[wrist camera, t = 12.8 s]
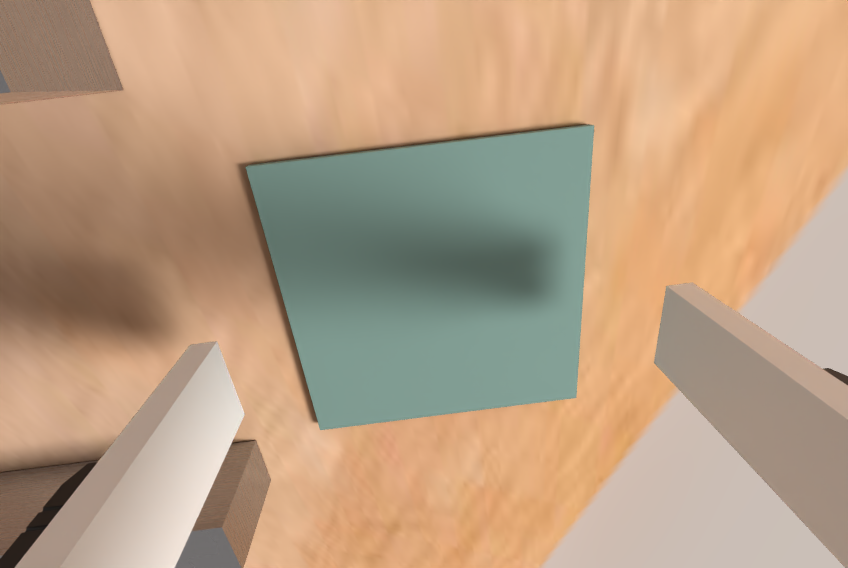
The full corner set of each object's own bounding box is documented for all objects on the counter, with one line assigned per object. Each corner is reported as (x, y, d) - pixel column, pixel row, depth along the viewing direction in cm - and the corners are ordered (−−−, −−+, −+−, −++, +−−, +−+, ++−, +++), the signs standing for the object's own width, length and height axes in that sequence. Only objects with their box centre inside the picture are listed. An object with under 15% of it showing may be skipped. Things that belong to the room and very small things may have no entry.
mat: (249, 164, 13) (245, 166, 13) (588, 124, 14) (594, 125, 13) (321, 423, 18) (320, 430, 18) (572, 391, 18) (576, 397, 18)
